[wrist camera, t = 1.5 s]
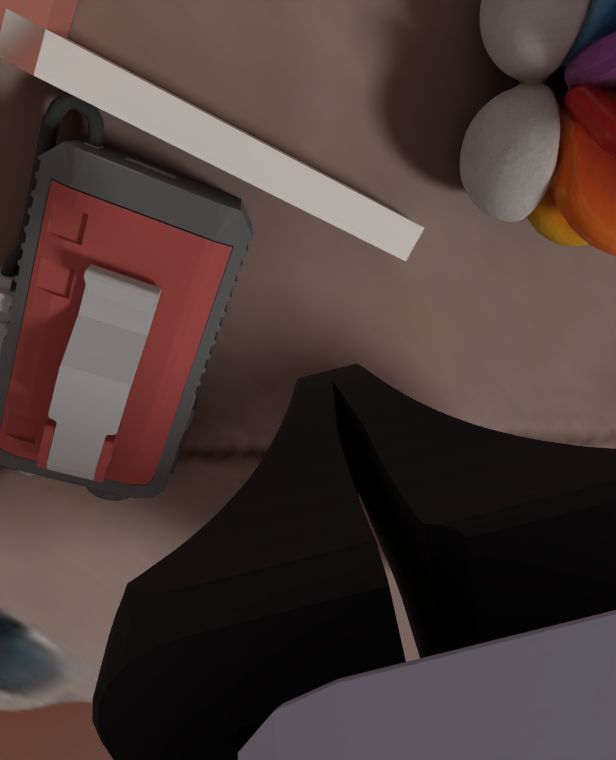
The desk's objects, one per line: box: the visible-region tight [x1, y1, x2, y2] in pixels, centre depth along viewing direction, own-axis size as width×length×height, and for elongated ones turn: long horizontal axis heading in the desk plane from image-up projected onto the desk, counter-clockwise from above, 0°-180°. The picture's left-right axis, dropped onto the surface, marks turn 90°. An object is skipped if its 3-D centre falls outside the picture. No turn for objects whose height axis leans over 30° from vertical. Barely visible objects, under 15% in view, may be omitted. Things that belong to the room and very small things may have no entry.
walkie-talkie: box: [0, 94, 253, 501], centre depth 20 cm, size 9×4×20 cm
